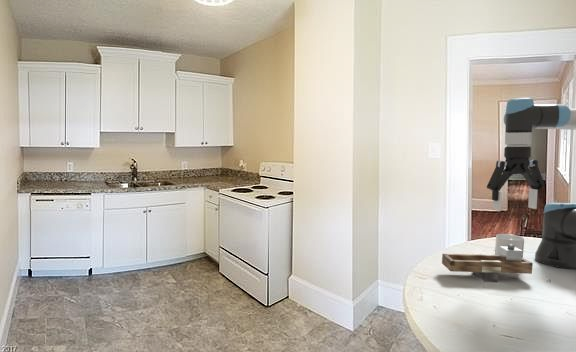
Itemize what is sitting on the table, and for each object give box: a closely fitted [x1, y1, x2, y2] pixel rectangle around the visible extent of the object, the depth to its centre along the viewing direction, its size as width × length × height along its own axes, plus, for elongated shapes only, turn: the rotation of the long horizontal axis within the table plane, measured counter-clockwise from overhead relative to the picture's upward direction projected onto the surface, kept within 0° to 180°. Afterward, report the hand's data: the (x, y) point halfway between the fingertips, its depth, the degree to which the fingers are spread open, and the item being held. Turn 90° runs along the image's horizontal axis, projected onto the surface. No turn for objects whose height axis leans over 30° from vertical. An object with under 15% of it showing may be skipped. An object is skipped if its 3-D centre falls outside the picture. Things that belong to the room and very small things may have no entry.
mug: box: [494, 233, 525, 258], centre depth 138 cm, size 12×9×11 cm
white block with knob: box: [499, 244, 522, 262], centre depth 125 cm, size 5×4×6 cm
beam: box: [441, 253, 534, 283], centre depth 126 cm, size 26×9×7 cm, turn 87°
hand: (514, 209), depth 125 cm, fingers open, 13 cm apart
